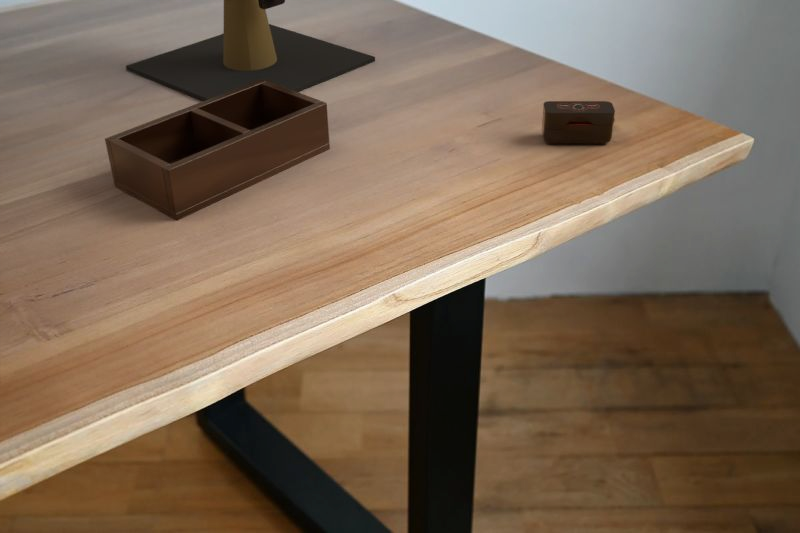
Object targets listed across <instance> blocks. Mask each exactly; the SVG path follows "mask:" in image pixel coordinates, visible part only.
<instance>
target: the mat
mask: <svg viewBox="0 0 800 533" xmlns="http://www.w3.org/2000/svg"><path fill="white" fill-rule="evenodd" d="M269 27H270V31H271V35H272V40H273V44H274V48H275V52H276V57H277V61H276V63H274V64H273V65H272V66H269V67H267V68H263V69H260V70H252V71H239V70H233V69H229V68H227V67H226V66H225V65H224V63H223V57H224V33H221V34H218V35H214V36H213V37H210V38H209V37H208V38H205V39H202V40H200V41H198V42H194V43H190V44H188V45H186V46H181V47H178V48H175V49H174V50H170V51H166V52H164V53H160V54H158V55H154V56H151V57H148V58H145V59H142V60H139V61H136V62H132V63H130V64H126V65H125V69H126V71H129V72H131V73H134V74H136V75H138V76H141V77H143V78H145V79H147V80H151V81H153V82H156V83H158V84H160V85H163V86H165V87H168V88H170V89H172V90H174V91H178V92H180V93H182V94H184V95H187V96H190V97H192V98H195V99H197V100H199V101H201V102H203V101H205V100H208V99H211V98H213V97H216V96H219V95H221V94H224V93H227V92H229V91H232V90H234V89H237V88H240V87H242V86H245V85H248V84H250V83H253V82H256V81H258V80H261V79H262V80H265V81H268V82H271V83H274V84H277V85H279V86H282V87H285V88H287V89H290V90H293V91H296V92H298V93H300V92H301V91H303V90H306V89H309V88H311V87H313V86H317V85H319V84H321V83H324V82H326V81H329V80H331V79H333V78H337V77H339V76H341V75H343V74H346V73H348V72H351V71H353V70H355V69H358V68H361V67H363V66H366V65H368V64H370V63H373V62H376V56H374V55H371V54H367V53H365V52H362V51H357V50H355V49H351V48H348V47H345V46H342V45H339V44H335V43H332V42H329V41H325V40H322V39H319V38H316V37H313V36H309V35H306V34H303V33H300V32H296V31H293V30H290V29H287V28H284V27H281V26H277V25H273V24H271V23H269Z"/></svg>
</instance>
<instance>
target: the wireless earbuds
mask: <svg viewBox="0 0 800 533" xmlns="http://www.w3.org/2000/svg"><path fill="white" fill-rule="evenodd" d="M615 113H616V110H615V107H614V105H613V103H612V102H611V101H607V100H549V101H548V100H547V101H545V102H543V106H542V119H541V120H542V121H541V134H542V139H543V141H544V142H545V143H546V144H608V143H610V142H611V140H612V138H613V131H614V130H613V129H614V123H615V115H616V114H615Z"/></svg>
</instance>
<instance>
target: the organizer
mask: <svg viewBox="0 0 800 533" xmlns="http://www.w3.org/2000/svg"><path fill="white" fill-rule="evenodd" d="M328 116H329V115H328V103H327V102H325V101H322V100H320V99H318V98H315V97H312V96H309V95H306V94H304V93H301V92H296V91H293V90H290V89H287V88H285V87H282V86H279V85H277V84H274V83H271V82H268V81H265V80H262V79H261V80H258V81H256V82H253V83H250V84H248V85H245V86H242V87H240V88H237V89H234V90H232V91H229V92H227V93H224V94H221V95H219V96H216V97H213V98H211V99H208V100H205V101H201V102H198V103H195V104H192V105H190V106H187V107H184V108H182V109H179V110H176V111H174V112H171V113H169V114H166V115H163V116H160V117H158V118H155V119H153V120H150V121H148V122H145V123H142V124H139V125H137V126H134V127H132V128H129V129H127V130H124V131H122V132H121V131H120V132H119V133H116V134H113V135H111V136H108V137H106V138H104V144H105V146H106V151H107V156H108V160H109V166H110V170H111V175H112V179H113V185H114V187H115V188H117V189H119V190H121V191H123V192H124V193H126V194H127V195H130V196H132V197H133V198H136V199H137V200H139V201H141V202H142V203H145V204H146V205H148V206H150V207H152V208H154V209H156V211H157V210H158V211H160V213H163V214H164V215H167V216H169V217H170V218H172V219H174V220H176V221H178V220H181V219H183V218H186V217H187V216H189V215H191V214H193V213H195V212H198V211H200V210H202V209H205V208H206V207H209V206H211V205H213V204H215V203H217V202H220V201H221V200H223V199H226V198H227V197H230V196H232V195H234V194H236V193H238V192H240V191H242V190H245V189H247V188H249V187H251V186H254V185H255V184H257V183H260V182H262V181H264V180H266V179H268V178H271V177H273V176H274V175H276V174H278V173H281V172H283V171H285V170H287V169H290V168H292V167H294V166H296V165H298V164H300V163H303V162H304V161H307V160H309V159H311V158H313V157H314V156H317V155H320V154H321V153H324V152H325V151H328V150H330V149H331V143H330V130H329V117H328Z"/></svg>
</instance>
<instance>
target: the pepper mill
mask: <svg viewBox="0 0 800 533" xmlns="http://www.w3.org/2000/svg"><path fill="white" fill-rule="evenodd" d="M269 24H270V23H269V18H268V14H267V9H261V8H260V7H259V2H258V0H223V34H224V57H223V63H224V65H225V66H226V67H227V68H229V69H233V70H239V71H252V70H260V69H263V68H267V67H269V66H272V65H273V64H274V63H276V61H277V57H276V52H275V48H274V44H273V40H272V35H271V31H270V27H269Z"/></svg>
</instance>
